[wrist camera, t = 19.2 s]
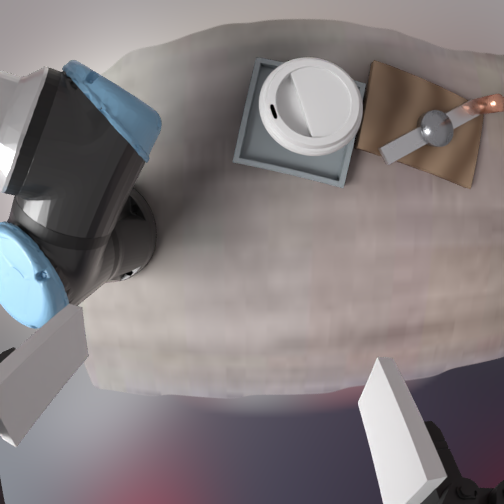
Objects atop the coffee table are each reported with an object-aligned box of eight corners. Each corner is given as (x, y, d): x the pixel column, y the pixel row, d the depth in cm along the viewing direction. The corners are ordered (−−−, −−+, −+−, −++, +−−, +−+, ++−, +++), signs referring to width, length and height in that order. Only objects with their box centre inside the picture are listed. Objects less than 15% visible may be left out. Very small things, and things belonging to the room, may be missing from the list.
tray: (235, 162, 42) (232, 162, 39) (257, 62, 37) (256, 57, 35) (339, 186, 41) (343, 188, 39) (361, 87, 37) (365, 83, 35)
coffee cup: (267, 83, 37) (262, 45, 23) (340, 92, 37) (370, 60, 23) (261, 153, 40) (252, 149, 26) (334, 161, 40) (363, 163, 25)
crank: (390, 173, 38) (410, 176, 32) (372, 139, 37) (390, 136, 31) (485, 120, 34) (512, 117, 28) (470, 89, 33) (497, 82, 27)
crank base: (354, 148, 40) (357, 147, 38) (371, 63, 36) (374, 60, 34) (465, 187, 39) (470, 188, 38) (479, 110, 36) (484, 109, 34)
